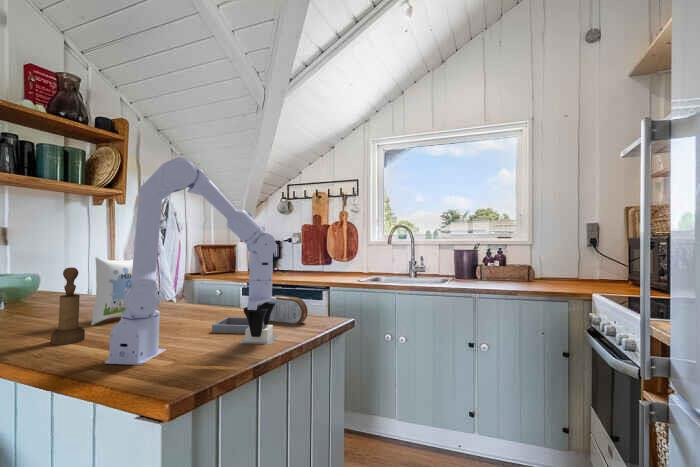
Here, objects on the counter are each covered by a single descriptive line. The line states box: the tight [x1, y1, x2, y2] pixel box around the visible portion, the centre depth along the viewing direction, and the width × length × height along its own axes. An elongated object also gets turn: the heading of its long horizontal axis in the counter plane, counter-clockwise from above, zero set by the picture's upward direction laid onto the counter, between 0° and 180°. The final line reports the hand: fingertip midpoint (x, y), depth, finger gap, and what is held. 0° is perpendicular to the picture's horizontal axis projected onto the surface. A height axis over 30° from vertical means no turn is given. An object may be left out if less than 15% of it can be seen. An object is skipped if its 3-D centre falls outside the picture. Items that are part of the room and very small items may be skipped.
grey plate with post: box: [238, 321, 279, 345], centre depth 92 cm, size 8×8×5 cm
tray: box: [211, 316, 249, 335], centre depth 103 cm, size 11×11×3 cm
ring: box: [244, 324, 274, 342], centre depth 92 cm, size 6×6×3 cm
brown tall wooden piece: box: [50, 267, 86, 346], centre depth 89 cm, size 7×6×18 cm
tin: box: [269, 294, 309, 325], centre depth 114 cm, size 15×3×8 cm, turn 66°
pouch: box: [91, 256, 133, 326], centre depth 114 cm, size 8×19×20 cm, turn 157°
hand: (259, 333), depth 92 cm, fingers closed on ring, 5 cm apart
